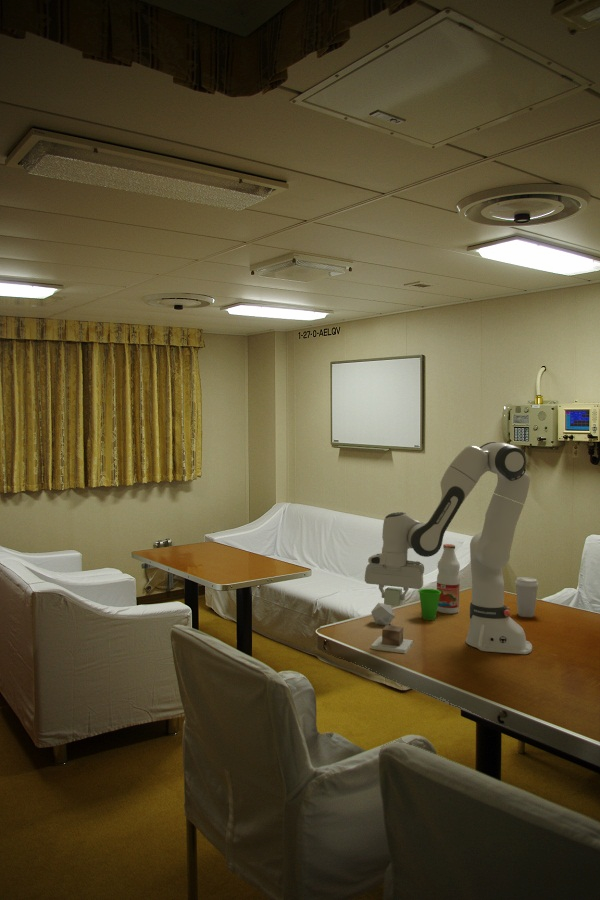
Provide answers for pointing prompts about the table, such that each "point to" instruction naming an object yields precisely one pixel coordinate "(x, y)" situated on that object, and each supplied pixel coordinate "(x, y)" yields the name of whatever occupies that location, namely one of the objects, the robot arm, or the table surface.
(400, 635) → the walnut block
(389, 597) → the sage block
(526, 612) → the coffee cup
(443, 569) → the fruit juice
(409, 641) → the plate
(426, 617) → the cup
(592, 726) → the table surface
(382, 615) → the white block
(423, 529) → the robot arm
